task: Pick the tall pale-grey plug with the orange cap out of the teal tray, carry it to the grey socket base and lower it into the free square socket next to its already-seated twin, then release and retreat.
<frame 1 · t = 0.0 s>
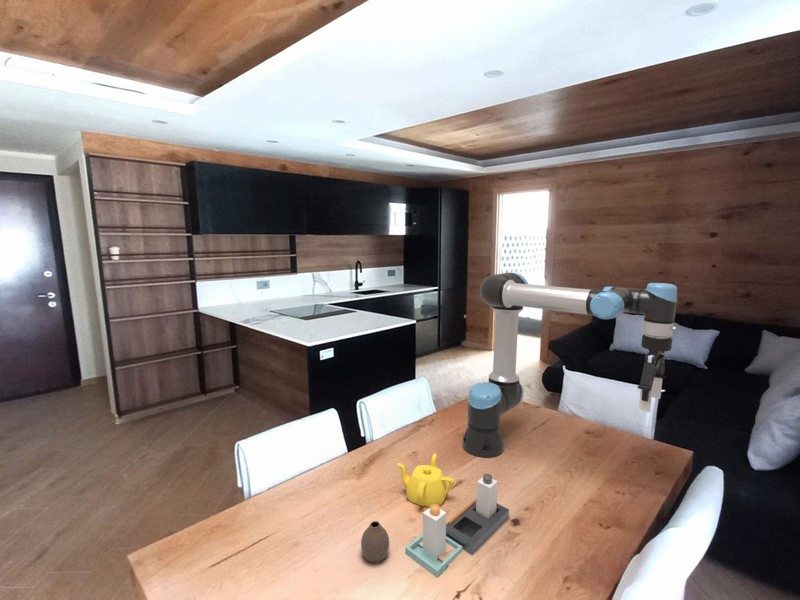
hand: (649, 403, 119), 28 cm above the table, fingers open, 13 cm apart
teapot: (425, 496, 119), on the table
grey socket base: (476, 529, 105), on the table
tray: (433, 554, 97), on the table
plug: (433, 552, 97), resting on tray
twin plug: (485, 517, 108), resting on grey socket base
vase: (375, 557, 96), on the table
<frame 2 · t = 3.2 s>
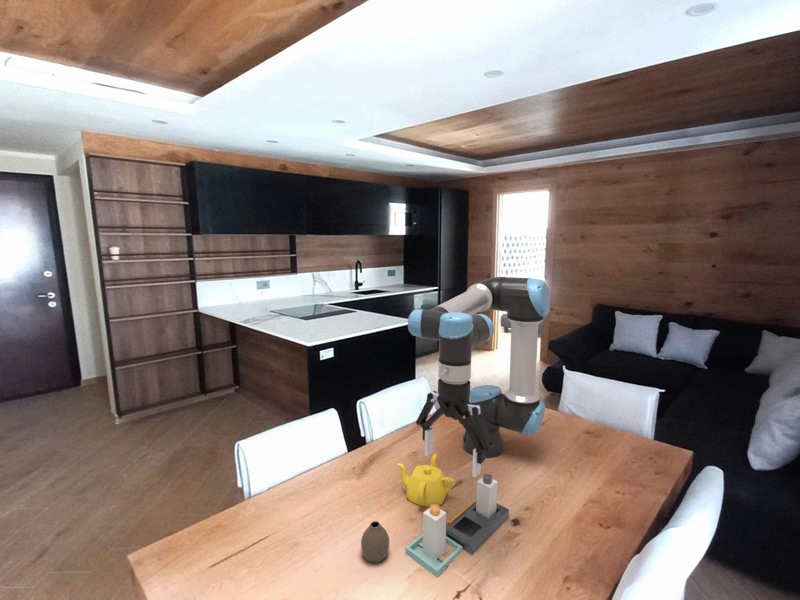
hand: (451, 463, 94), 24 cm above the table, fingers open, 13 cm apart
nothing on the table moved.
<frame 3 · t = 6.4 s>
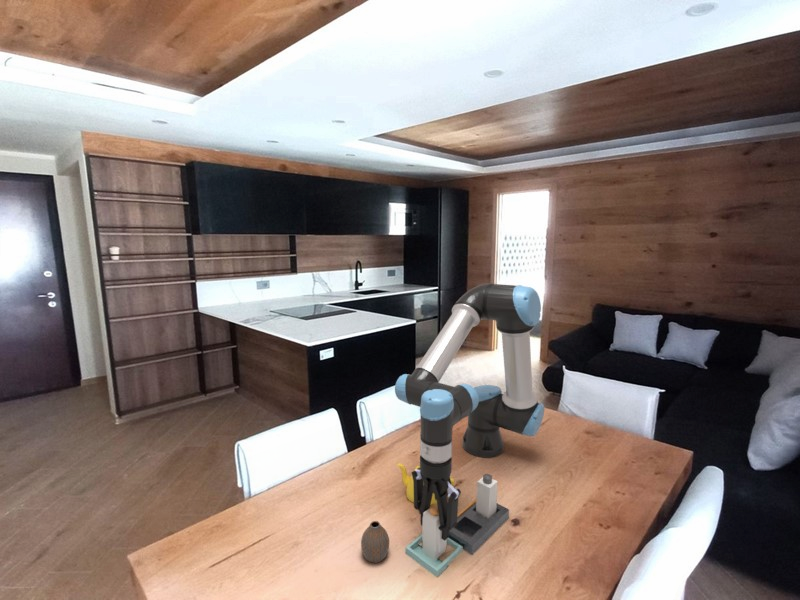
hand: (434, 543, 96), 3 cm above the table, fingers closed on plug, 4 cm apart
plug: (434, 552, 97), resting on tray, touching gripper
everything else where it was.
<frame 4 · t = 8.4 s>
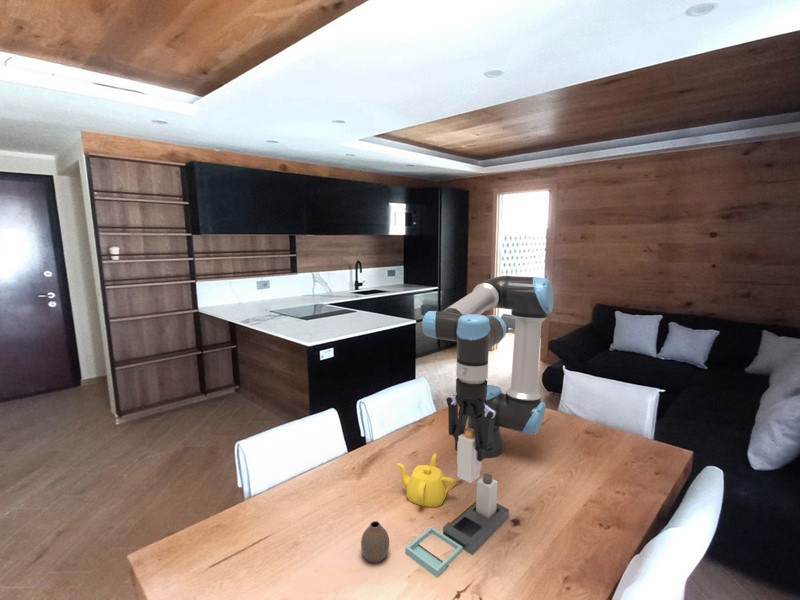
hand: (468, 466, 99), 20 cm above the table, fingers closed on plug, 4 cm apart
plug: (468, 476, 99), point 18 cm above the table, touching gripper
everything else where it was.
when the fingers open (4 cm above the table, at t = 10.7 s): plug stays where it is, resting on grey socket base.
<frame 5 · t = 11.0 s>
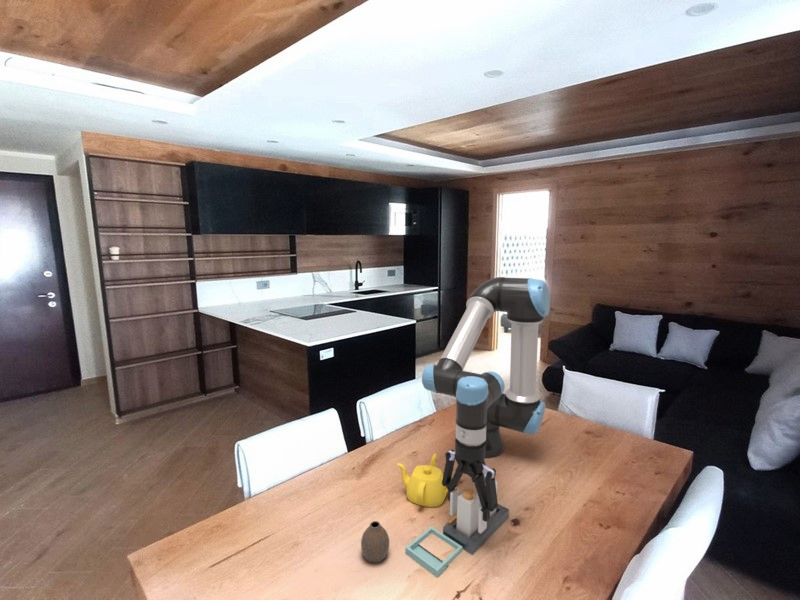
hand: (467, 521, 101), 5 cm above the table, fingers open, 8 cm apart
plug: (467, 535, 102), point 1 cm above the table, touching grey socket base
everything else where it was.
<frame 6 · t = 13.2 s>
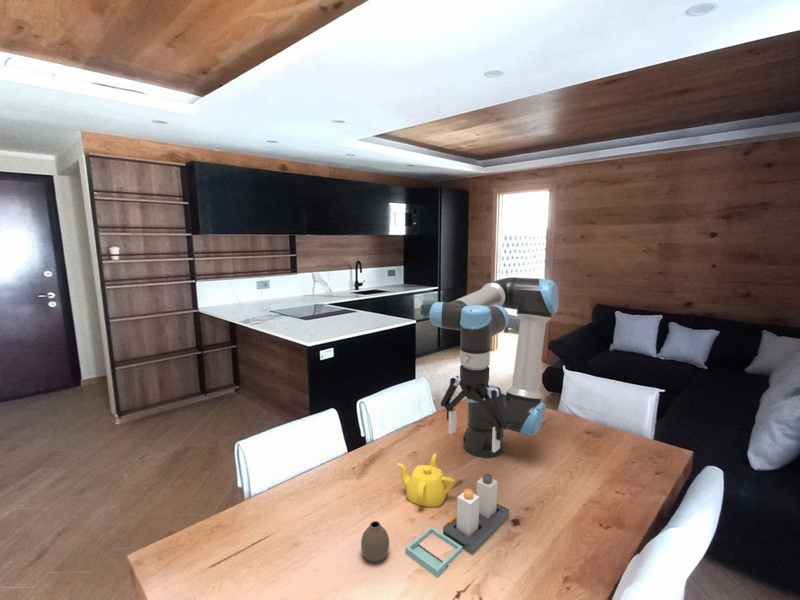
hand: (473, 440, 105), 24 cm above the table, fingers open, 13 cm apart
nothing on the table moved.
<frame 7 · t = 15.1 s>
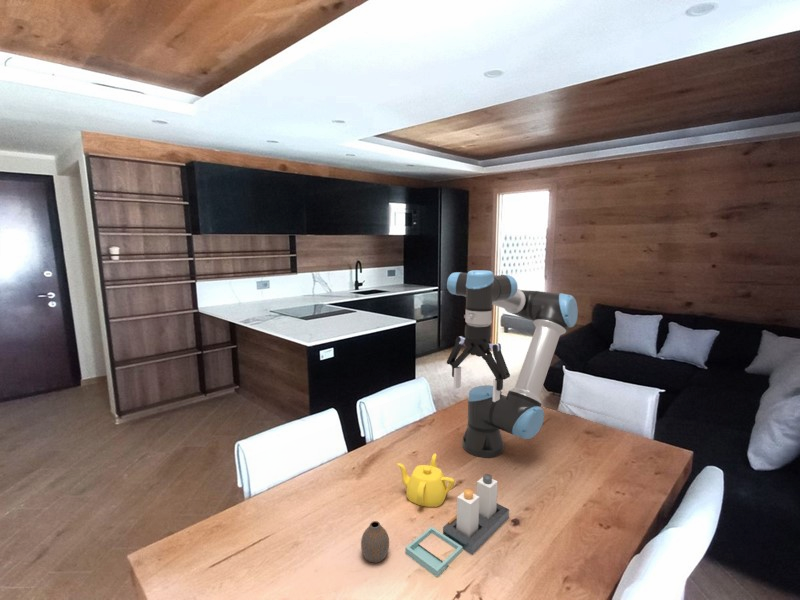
hand: (475, 393, 116), 32 cm above the table, fingers open, 13 cm apart
nothing on the table moved.
at the end: plug 0.0 cm from the target spot on the grey socket base, point 1.0 cm above the grey socket base's base; plug tilted 0°; the gripper is holding nothing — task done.
